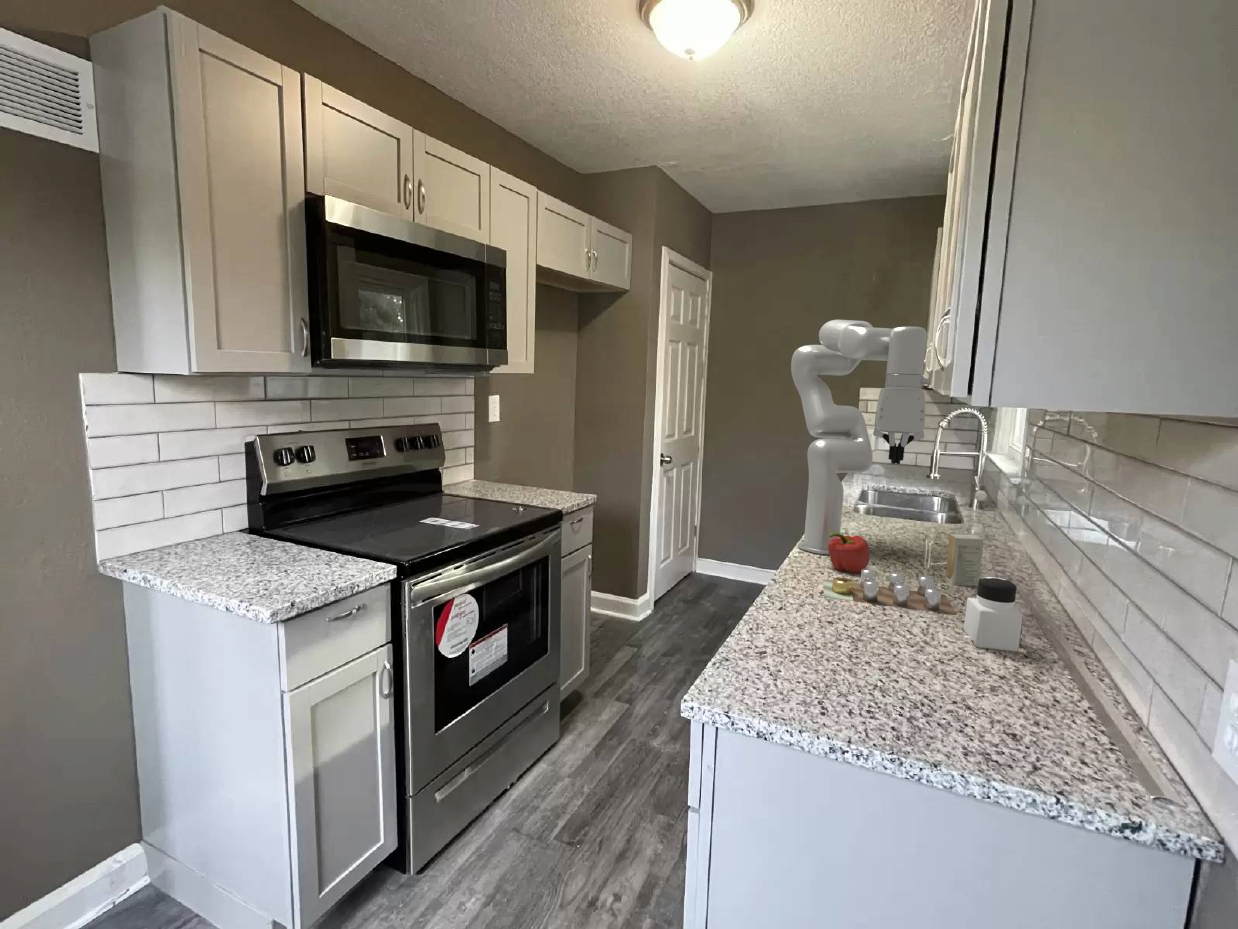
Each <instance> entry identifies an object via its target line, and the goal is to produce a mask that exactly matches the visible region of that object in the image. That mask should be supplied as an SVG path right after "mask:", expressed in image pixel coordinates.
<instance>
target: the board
mask: <svg viewBox="0 0 1238 929" xmlns="http://www.w3.org/2000/svg"><path fill="white" fill-rule="evenodd" d="M822 581H823V584H822V585H823V597H824V598H829V599H836V600H843V601H844V600H845V601H848V602H849V601H851V602H858V603H865V604H873V605H880V606H887V607H894V608H895V607H896V608H901V609H910V610H917V611H925V612H932V613H939V614H947V615H952V616H953V615H954V616H958V614H957V612H956V610H955V609H954V608H953V606H952V604H951V602H950V600H949V598H948V597H947V595H946V594H942V593H941V600H940V609H939V611H931V610H927V609H925V608H924V607H923V606H924V597H923V596H920V595H918V594H917V591H918V590H911V589H910V592H909V601H908V606H907V607H901V606H897V605H894V604H893V594H894V593H893V592H890V591H889V590H888V587H889V586H887V587H885V586H881V585H879V591H878V601H877V602H875V603H872V602H867V601H864V600H863V588H861V587H860V583H855V582H854V589H853V594H852V595H841V594H837V593H834V592H833V591H832V582H833V579H823V580H822Z"/></svg>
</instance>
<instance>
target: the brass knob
mask: <svg viewBox="0 0 1238 929" xmlns="http://www.w3.org/2000/svg"><path fill="white" fill-rule="evenodd" d="M832 580H833V582H832V591H833V592H834V593H837V594H841V595H852V594H853V589H854V583H855V581H854V580H853V579H850V578H847V577H846V578H845V577H834V578H832Z"/></svg>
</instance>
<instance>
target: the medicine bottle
mask: <svg viewBox="0 0 1238 929" xmlns="http://www.w3.org/2000/svg"><path fill="white" fill-rule="evenodd" d="M1017 588H1018V587H1017V586H1016V584H1015V583H1013V582H1012V581H1010V580H1008V579H1005V578H1002V577H1001V578H1000V577H994V576H986V577H980V579H979V581H978V587H977V588H976V589H977V590H976V598H975V597H968V598H967V599H966V608H965V616H964V626H963V630H964V632H965V633H966V634H967V635H968V637H969V638H970V639H972V640H970V641H971V643H972V644H973V645H974V646H975V647H976V648H978V649H979V648H981V649H989V650H998V651H1006V652H1016V653H1017V652H1019V649H1020V643H1021V642H1020V641H1021V635H1022V630H1023V628H1022V627H1023V622H1024V621H1023V620H1024V614H1023V613H1022V612H1021V611H1019V610H1018V609H1017V608H1015V604H1016V596H1017Z"/></svg>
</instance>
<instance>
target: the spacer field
mask: <svg viewBox="0 0 1238 929" xmlns="http://www.w3.org/2000/svg"><path fill="white" fill-rule="evenodd" d="M888 579H889V580H888V586H887V587H888V590H889V591H890V592H893V593H894V594H893V604H894V605H897V606H901V607H907V606H908V601H909V592H910V590H911V587H910V585H908V584H905V582H904V581H905V573H902V572H897V571H890V572H889V578H888ZM934 583H935V578H934V577H933V576H929V575H926V574H925V575H922V574H921V575H919V576H918V582H917V590H916V591H917V594H918V595H920V596H923V597H924V606H923V607H924V608H925V609H927V610H931V611H939V609H940V600H941V594H942V590H941V589H940V588H935V587H934ZM859 584H860V587H861V588H863V600H864V601H867V602H872V603H875V602H877V601H878V591H879V586H880V582H879V581H877V580H876V570H875V569H872V568H867V567H866V568H865V569H862V571H861V573H860V582H859ZM901 607H900V608H901Z"/></svg>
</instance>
